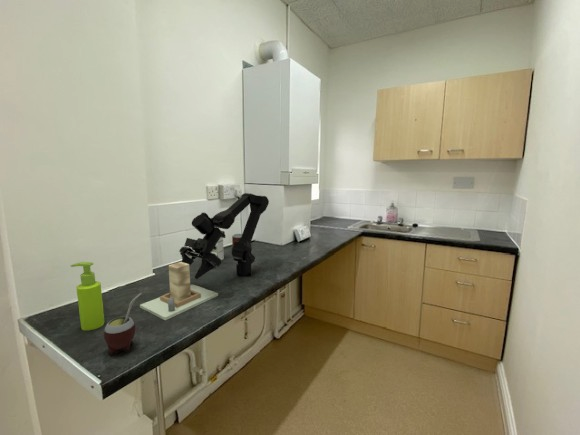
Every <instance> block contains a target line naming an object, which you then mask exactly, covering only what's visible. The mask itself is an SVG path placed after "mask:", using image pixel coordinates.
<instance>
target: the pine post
mask: <svg viewBox="0 0 580 435" xmlns="http://www.w3.org/2000/svg"><path fill="white" fill-rule="evenodd" d="M190 268H191V267H190V266H189V264H187V263H183V262H182V261H178V262H175V263H173V264H169V265H168V278H169V279H168V280H169V282H168V283H169V293H170V298H174V301H176V302H179V301H181V300H183V299H186V298H188V297H190V296H191V289H190V285H191V274H190V270H191V269H190Z"/></svg>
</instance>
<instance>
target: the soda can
mask: <svg viewBox="0 0 580 435" xmlns="http://www.w3.org/2000/svg"><path fill="white" fill-rule="evenodd" d="M242 234H243V233H235V234H233V235H232V236H231V239H232V241H231V242H232V243H231V244H232V248H233V245H234V242H235V241H237V242H238V241H239V240H240V239H241V237H242ZM232 248H231V249H232Z"/></svg>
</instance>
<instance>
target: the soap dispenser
mask: <svg viewBox="0 0 580 435" xmlns="http://www.w3.org/2000/svg"><path fill="white" fill-rule="evenodd" d="M92 265H94V262H92V261H90V262H89V261H87V262H86V261H80V262H76V263H73V264H71V265H70V267H71V268H74V267H82V269H83V272H82V273H81V274H80V282H81V283H80V284H79V285H76V295H77V303H78V304H77V305H78V313H79V320H80V321H79V322H80V329H81V330H82V331H87V332H88V331H92V330H93V331H94V330H96V329H99V328H101V327H102V326H104V324H105V314H104V304H103V294H102V293H103V292H102V285H101V282H100V281H96V276H95V272H94V271H92V270H91V266H92Z"/></svg>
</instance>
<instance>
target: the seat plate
mask: <svg viewBox="0 0 580 435" xmlns="http://www.w3.org/2000/svg"><path fill="white" fill-rule="evenodd" d="M190 289H191V296H190V297H188V298H186V299H183V300H181V301H179V302H176V301H174V298H170V292H167V293H165V294H163V295H160V296H159V297H157V298H154V299H152V300H149V301H147V302H143V303H140V304H139V308H140V309H142V310H144V311H146V312H148V313H150V314H151V315H154V316H156V317H158V318H159V319H161V320H164V321H168V320H169V319H172V318H174V317H175V316H178V315H179V314H182V313H184V312H186V311H188V310H190V309H193V308H196V307H197V306H200V305H201V304H203V303H206V302H209V301H210V300H212V299H214V298H216V297H219V292H216V291H213V290H210V289H207V288H204V287H202V286H199V285H195V284H190Z"/></svg>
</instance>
